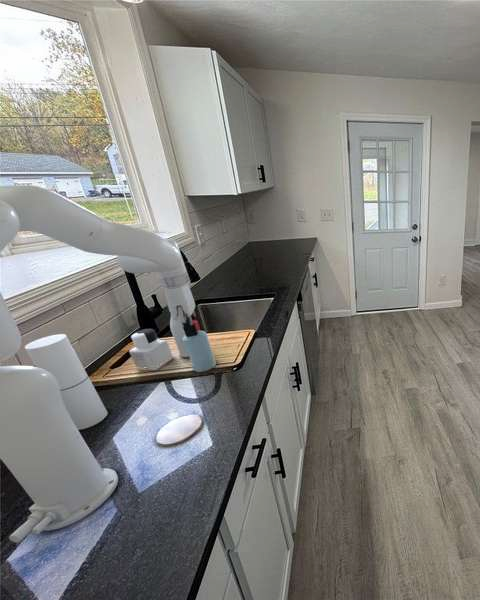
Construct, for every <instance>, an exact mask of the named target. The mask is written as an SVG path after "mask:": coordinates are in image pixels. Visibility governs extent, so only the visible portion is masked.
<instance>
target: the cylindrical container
mask: <svg viewBox="0 0 480 600" xmlns="http://www.w3.org/2000/svg"><path fill="white" fill-rule="evenodd" d="M73 347H74V346H73V345H72V344H71V342H70V340H69V338H68V336H67V335H66V334H65V333H58V334H51V335H47V336H44V337H40V338H38V339H35V340H33V341H31V342H29V343H27V344H25V346H24V350H26V352H27V354H28V357H30V359H31V360H32V362H33V364H34V366H35V367H38V368H41V369H44V370H46V371H48V372H50V373H51V374H52V375H53V376H54V377H55V378H56V379H57V381H58V384H59V387H60V391H61V396H62V400H63V403H64V405H65V408H66V410H67V412H68V414H69V416H70V418H71V419H72V421H73V423H74V424H75V426H76V428H77V429H78V431H79V430H85V429H88V428H91V427H93V426H95V425H97V424H99V423H101V422H102V421H103V420H104V419H105V418H106V417H107V416H108V413H109V412H108V410H107V409H106V407H105V405H104V403H103V400H102V398H100V396H99V394H98V392H97V390H96V387H94V384H93V383H92V381H91V379H90V377H89V375H88V373H87V372H86V369H85V368H84V366H83V364H82V362H81V360H80V359H79V356H78V354H77V353H76V350H75V349H74V348H73Z"/></svg>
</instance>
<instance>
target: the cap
mask: <svg viewBox="0 0 480 600" xmlns="http://www.w3.org/2000/svg"><path fill="white" fill-rule="evenodd" d="M197 320H198V319H197ZM197 320H195V319H194V320H192V322H193V324H195V327H196V330H197V331H198V330H201V327H200V328H199V326H200V324H199V325H198V323H199V321H198V322H197Z"/></svg>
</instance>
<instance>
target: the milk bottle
mask: <svg viewBox="0 0 480 600" xmlns="http://www.w3.org/2000/svg"><path fill="white" fill-rule="evenodd" d="M167 309H168V312H170V309H169V306H168V305H167ZM184 316H185V315H184ZM185 319H186V318H185ZM169 320H170V321H169V328H170V332H171V335H172V337H173V340H174V342H175V345H176V347H177V350H178V353H179V355H180V357H182V358H190V357H189V354H188V351H187V349H186V346H185V343H184V341H183V338H184V336H185V332H184V329H183V327H182V324H181V323H180V321H179V315H178V317H177V319H173V318H172V315H171V314H170V319H169Z"/></svg>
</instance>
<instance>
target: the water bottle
mask: <svg viewBox="0 0 480 600" xmlns="http://www.w3.org/2000/svg"><path fill="white" fill-rule="evenodd" d="M197 332H198V335H196V336H191V337H186V335H185V336H184V338H183V341H184V343H185V346H186V349H187V351H188V354H189V357H188V358H189V359H190V362H191V364H192V367H193V371H194V372H196V373H203V372H207V371H210V370H211V369H213V368H214V367H215V366H217V361H216V358H215V356H214V352H213V349H212V347H211V343H210V341H209V337H208V334H207V332H206V331H205V330H201V329H199V330H198V331H197Z"/></svg>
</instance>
